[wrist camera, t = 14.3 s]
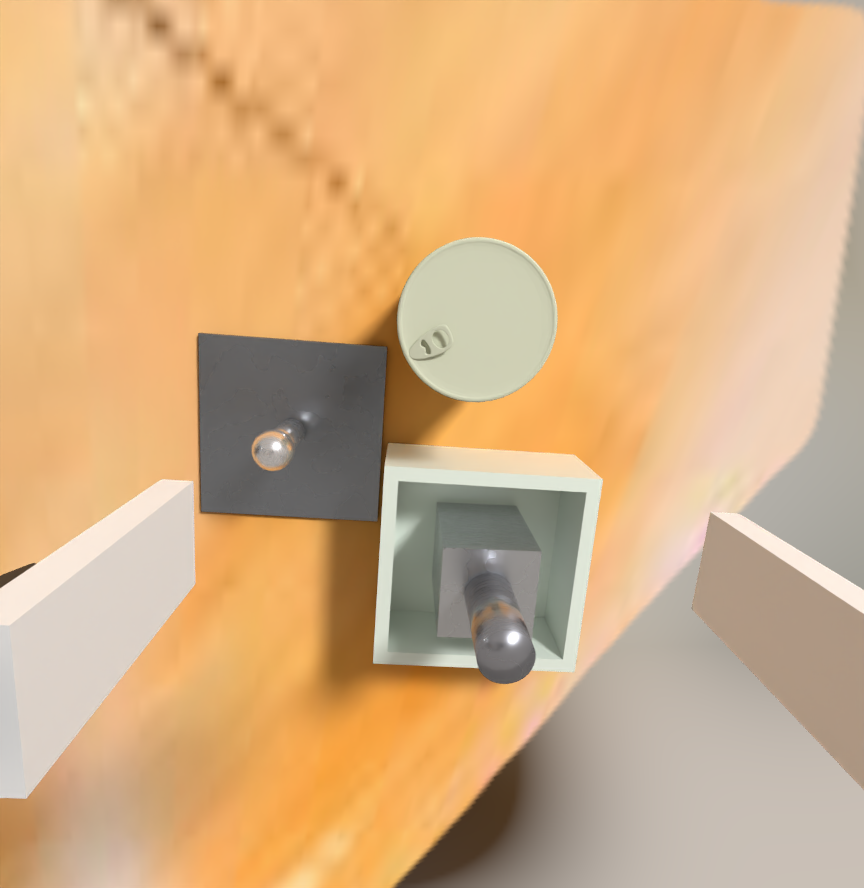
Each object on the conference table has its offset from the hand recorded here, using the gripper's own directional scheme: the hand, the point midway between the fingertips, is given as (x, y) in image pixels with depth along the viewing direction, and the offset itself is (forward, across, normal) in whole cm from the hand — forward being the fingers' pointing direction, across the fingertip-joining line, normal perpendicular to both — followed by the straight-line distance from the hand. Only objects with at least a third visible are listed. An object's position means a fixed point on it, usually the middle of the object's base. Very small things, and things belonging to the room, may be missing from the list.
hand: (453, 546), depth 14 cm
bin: (+31, +5, -12) cm, 33 cm away
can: (+31, +2, +5) cm, 31 cm away
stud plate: (+31, -10, -4) cm, 33 cm away
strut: (+30, +5, -12) cm, 32 cm away
